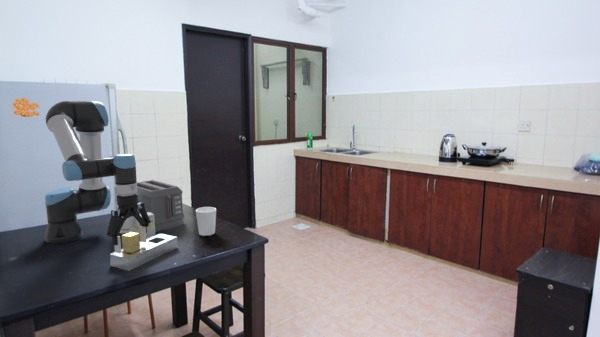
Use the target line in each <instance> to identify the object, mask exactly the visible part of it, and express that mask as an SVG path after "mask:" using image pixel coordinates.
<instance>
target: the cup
mask: <svg viewBox="0 0 600 337" xmlns="http://www.w3.org/2000/svg"><path fill="white" fill-rule="evenodd" d="M195 216H196V223H197V229H198V235H199V236H201V237H202V238H205V237H206V236H207V237H212V235H215V233H216V221H217V208H216V207H213V206H203V207H198V208H196V209H195Z"/></svg>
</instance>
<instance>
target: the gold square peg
mask: <svg viewBox="0 0 600 337" xmlns="http://www.w3.org/2000/svg"><path fill="white" fill-rule="evenodd" d="M121 247H122V249H123V253H126V254H130V255H131V254H133V253H136V252H138V251H140V239H139V233H135V232H134V231H133V232H129V233H123V234H122V235H121Z"/></svg>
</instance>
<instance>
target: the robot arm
mask: <svg viewBox="0 0 600 337" xmlns="http://www.w3.org/2000/svg"><path fill="white" fill-rule="evenodd" d="M45 124H46V127H47V129H48V130H49V131H50V132H52V134H53V136H54V138H55V140H56V142H57V145H58V147H59V150H60V152H61V154H62V157H63V159H64V162H62V167H61V168H62V170H61V171H62V174H63V178H64V180H65V181H68V182H73V181H82V182H81V183H80V184H79V185H78V189H74V188H73V187H71V186H70V187H63V188H62V187H61V188H57V189H54V190H51V191H49V192H47V193H46V195H45V196H44V199H45V201H44V205H45V209H46V211H45V212H46V219H47V220H46V221H47V227H46V231H45V234H44V240H45V243H47V244H63V243H68V242H73V241H77V240H79V239H81V238H82V237H83V234H84V233H83V229H82V227H81V225H80V223H79V221H78V217H77V215H82V214H86V213H93V212H99V211H103V210H106V209H108V207H109V206H110V204H111V200H112V193H111V189H110V187H109V186H108V185H107V183H106V182H104V181H103V178H108V177H114V181H115V185H116V194H118V195H117V204H118V206H119V207H118V210H116V209H112V210H110V219H109V224H108V226H107V227H108V228H107V232H106V236H107V237H110V238H111V241H112V245H113V247H114V252H117V253H121V249H122V240H121V236H120V235H119V234H121V233H120V230H121V228H122V226H123V224H124V221H125V220H126V219H127V218H129V217H133V216H134V217H135V219H136V220H137V221H138V222H139V223H140V224H141V225H142V226H139V229H140V242H147V240H146V233H147V227H148V226H149V224H150V223H151V221H150V219H149V217H148V214H147V212H146V210H145V206H144V203H140V202H139V203H138V194H137V181H138V180H137V166H136V165H137V162H136V157H135V155H134V154H133V153H119V154H115V155H110V156H108V157H102V138H101V137H102V135H101V134H102V133H103V132H104V131H105V128H106V127H107V126H109V115H108V112H107V108H106V106H105V105H104V104H103V102H100V101H93V100H73V101H69V100H64V101H60V102H58V103H55V104H54V105H52V106H51V107H50V108H49V109H48V111H47V113H46V115H45ZM77 133H78V134H79V137H78V134H77ZM137 203H138V204H137ZM137 209H139V212H140V214H141V216H142V217H141V216H140V215H139V212H138V211H137ZM119 213H120V214H119ZM118 215H119V216H118ZM122 217H123V218H122Z"/></svg>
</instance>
